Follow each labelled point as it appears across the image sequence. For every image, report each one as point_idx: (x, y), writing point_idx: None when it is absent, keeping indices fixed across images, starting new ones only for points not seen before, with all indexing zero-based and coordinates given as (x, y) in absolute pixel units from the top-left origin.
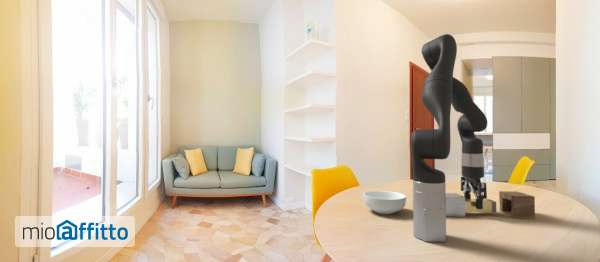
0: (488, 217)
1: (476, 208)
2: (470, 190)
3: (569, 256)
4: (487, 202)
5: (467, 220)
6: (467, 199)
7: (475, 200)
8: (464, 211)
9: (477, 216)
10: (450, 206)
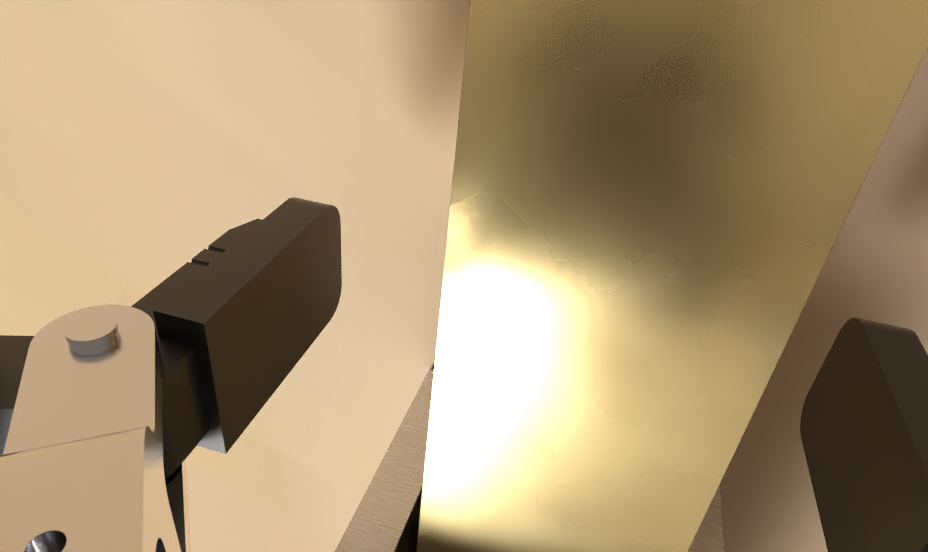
0: (909, 115)
1: (810, 414)
2: (160, 464)
3: None
4: (875, 143)
5: None
6: (452, 454)
7: (589, 370)
8: (718, 525)
9: None
10: None
